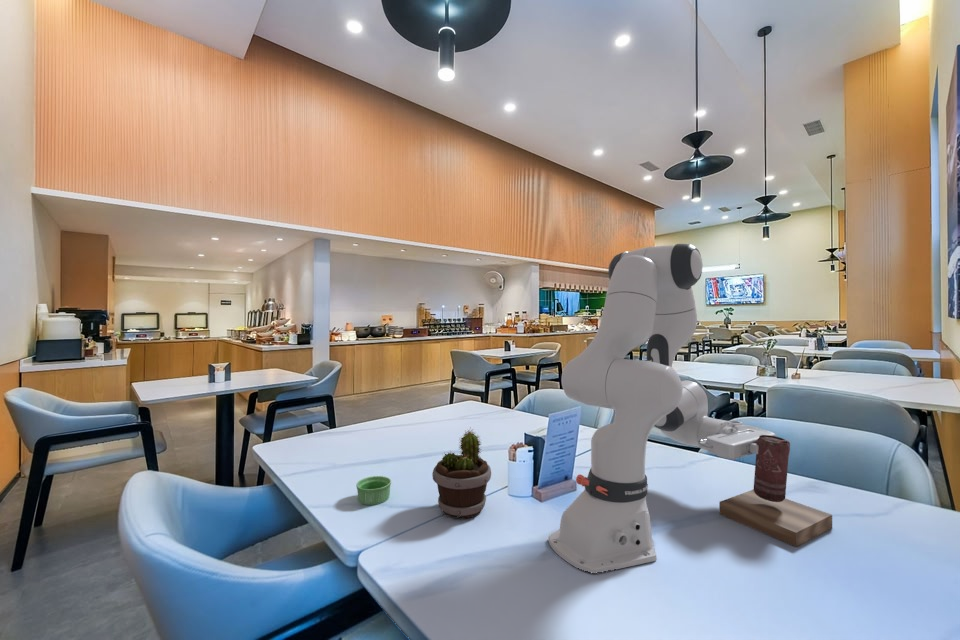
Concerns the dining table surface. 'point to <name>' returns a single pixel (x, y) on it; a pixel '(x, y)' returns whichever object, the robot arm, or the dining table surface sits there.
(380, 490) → the ramekin
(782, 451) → the can
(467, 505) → the flowerpot
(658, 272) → the robot arm
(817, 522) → the walnut base
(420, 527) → the dining table surface
